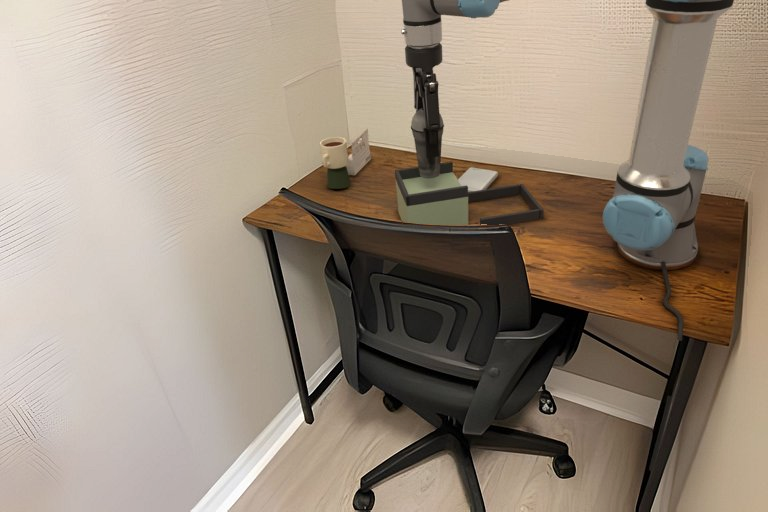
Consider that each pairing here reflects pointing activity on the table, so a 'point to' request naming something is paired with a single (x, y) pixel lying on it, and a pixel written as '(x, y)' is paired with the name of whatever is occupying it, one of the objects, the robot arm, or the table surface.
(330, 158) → the character mug
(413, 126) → the beverage cup
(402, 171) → the tray
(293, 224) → the table surface
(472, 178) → the hard drive
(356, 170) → the ink cartridge box
